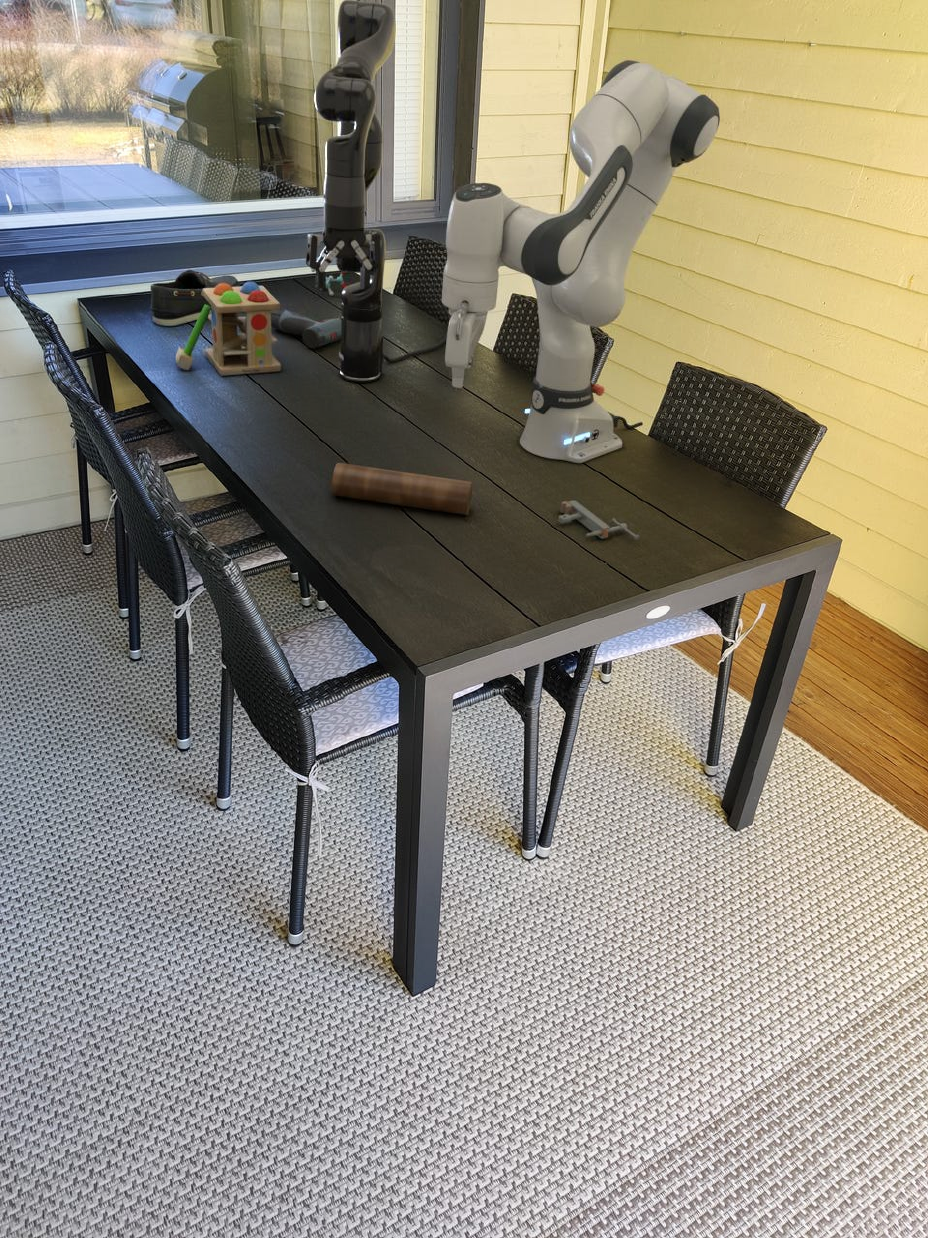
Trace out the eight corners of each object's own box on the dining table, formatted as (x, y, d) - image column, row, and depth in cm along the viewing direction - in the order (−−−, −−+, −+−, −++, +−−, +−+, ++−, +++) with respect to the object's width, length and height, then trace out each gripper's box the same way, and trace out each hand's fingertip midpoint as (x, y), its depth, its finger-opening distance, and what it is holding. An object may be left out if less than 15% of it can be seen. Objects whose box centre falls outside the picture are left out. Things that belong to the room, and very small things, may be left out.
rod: (331, 501, 179) (332, 470, 176) (340, 486, 184) (340, 457, 181) (465, 520, 177) (468, 490, 174) (470, 505, 182) (473, 476, 179)
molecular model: (344, 287, 277) (332, 252, 275) (316, 300, 280) (304, 265, 279) (361, 290, 287) (349, 256, 286) (333, 302, 291) (322, 269, 289)
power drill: (305, 316, 264) (364, 334, 256) (257, 332, 251) (318, 351, 243) (305, 296, 261) (365, 314, 253) (257, 311, 248) (318, 330, 240)
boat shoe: (260, 304, 271) (258, 265, 265) (170, 328, 247) (166, 286, 242) (226, 295, 276) (223, 257, 271) (135, 318, 253) (129, 277, 247)
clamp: (548, 504, 180) (591, 495, 185) (546, 514, 181) (590, 505, 186) (596, 542, 170) (641, 532, 174) (594, 553, 171) (639, 543, 175)
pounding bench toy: (183, 379, 220) (176, 299, 210) (169, 357, 231) (162, 280, 221) (282, 371, 230) (280, 294, 220) (264, 350, 240) (262, 276, 230)
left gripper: (314, 205, 175) (314, 297, 184) (388, 204, 180) (384, 293, 190) (300, 196, 180) (301, 285, 189) (372, 194, 186) (370, 281, 195)
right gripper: (479, 314, 149) (471, 401, 157) (496, 279, 166) (488, 359, 173) (438, 309, 149) (432, 395, 157) (460, 274, 166) (453, 354, 174)
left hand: (343, 289), depth 189 cm, fingers open, 8 cm apart
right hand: (462, 376), depth 165 cm, fingers open, 8 cm apart
